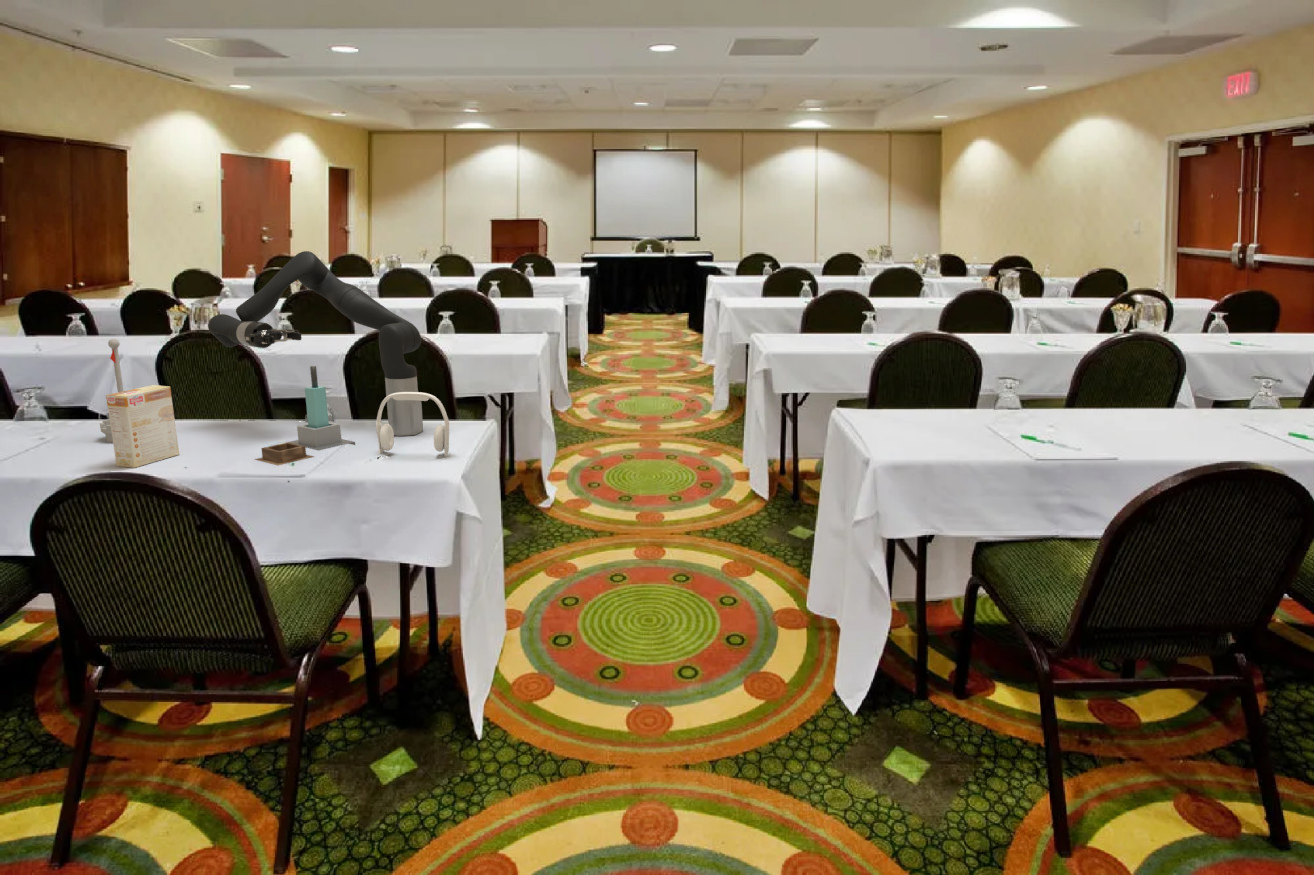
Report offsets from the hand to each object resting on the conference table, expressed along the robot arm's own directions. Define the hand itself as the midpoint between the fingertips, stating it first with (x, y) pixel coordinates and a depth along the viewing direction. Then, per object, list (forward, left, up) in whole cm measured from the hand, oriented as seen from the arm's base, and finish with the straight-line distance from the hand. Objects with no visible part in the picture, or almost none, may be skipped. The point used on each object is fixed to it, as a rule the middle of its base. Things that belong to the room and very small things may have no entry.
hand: (286, 338), depth 276 cm
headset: (-43, +12, -30) cm, 54 cm away
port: (-11, +6, -30) cm, 33 cm away
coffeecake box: (+27, +29, -30) cm, 50 cm away
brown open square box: (-11, +24, -30) cm, 40 cm away
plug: (-11, +6, -29) cm, 32 cm away
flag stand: (+52, +7, -30) cm, 60 cm away
